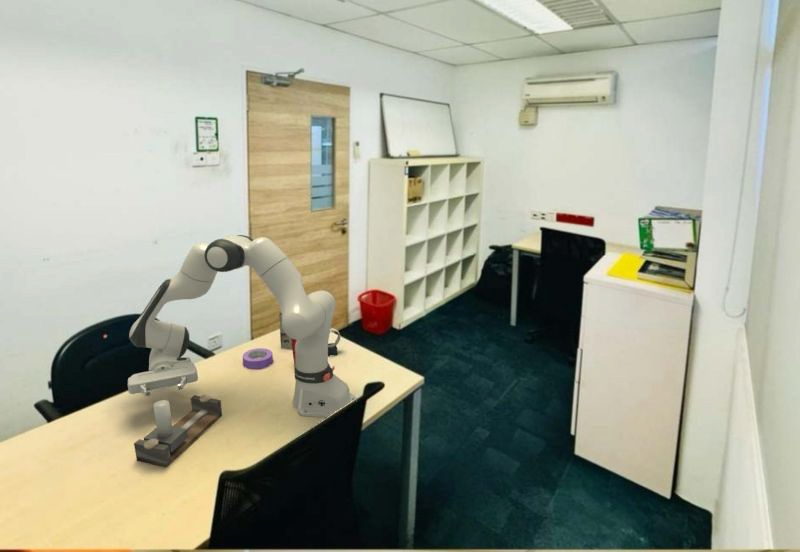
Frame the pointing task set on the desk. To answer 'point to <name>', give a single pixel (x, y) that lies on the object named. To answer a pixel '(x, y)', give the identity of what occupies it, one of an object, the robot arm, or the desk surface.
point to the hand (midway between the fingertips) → (164, 390)
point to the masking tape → (253, 363)
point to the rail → (194, 422)
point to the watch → (333, 344)
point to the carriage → (166, 427)
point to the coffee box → (284, 337)
